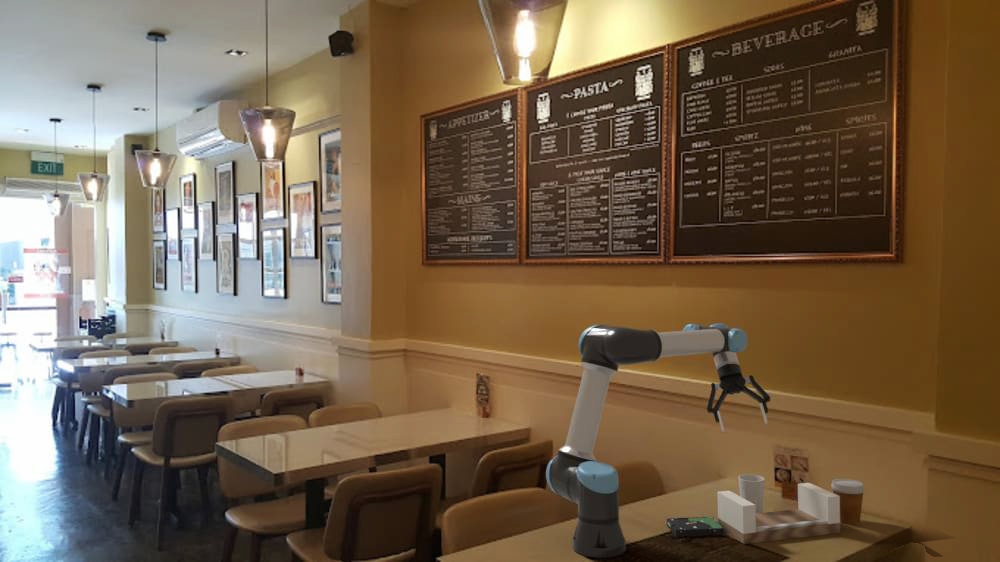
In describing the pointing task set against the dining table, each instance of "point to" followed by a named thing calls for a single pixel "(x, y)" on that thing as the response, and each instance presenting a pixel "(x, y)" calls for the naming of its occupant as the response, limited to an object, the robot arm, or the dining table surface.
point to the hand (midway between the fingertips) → (744, 427)
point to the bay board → (782, 527)
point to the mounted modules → (809, 501)
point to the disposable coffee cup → (849, 499)
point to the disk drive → (694, 526)
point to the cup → (752, 490)
